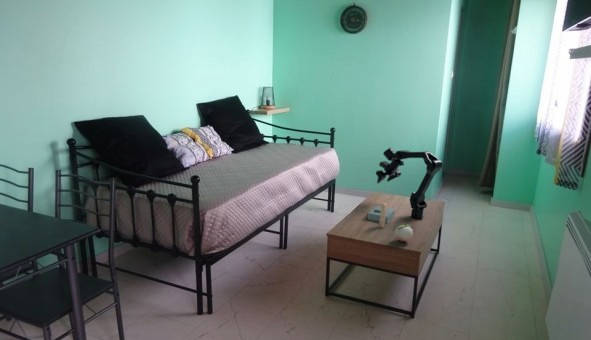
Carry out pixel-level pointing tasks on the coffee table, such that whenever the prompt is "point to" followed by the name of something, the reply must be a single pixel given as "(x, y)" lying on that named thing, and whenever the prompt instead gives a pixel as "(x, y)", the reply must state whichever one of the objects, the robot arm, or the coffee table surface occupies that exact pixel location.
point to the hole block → (375, 214)
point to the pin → (382, 215)
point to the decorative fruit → (404, 232)
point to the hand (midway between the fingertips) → (382, 182)
